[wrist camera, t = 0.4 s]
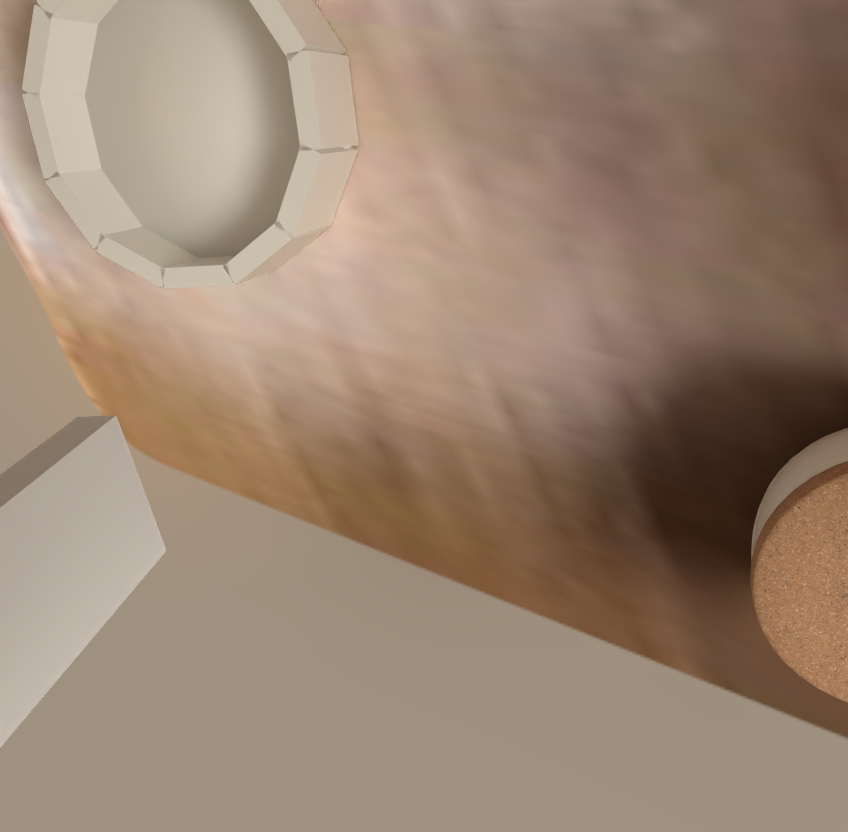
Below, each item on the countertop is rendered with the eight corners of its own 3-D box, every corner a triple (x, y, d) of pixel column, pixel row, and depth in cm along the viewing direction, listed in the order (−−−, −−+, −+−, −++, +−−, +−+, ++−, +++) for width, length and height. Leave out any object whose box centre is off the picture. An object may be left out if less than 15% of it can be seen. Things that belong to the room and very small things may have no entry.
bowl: (53, -28, 38) (-13, -42, 34) (330, -89, 33) (286, -112, 29) (124, 277, 43) (72, 292, 39) (373, 265, 38) (340, 281, 34)
